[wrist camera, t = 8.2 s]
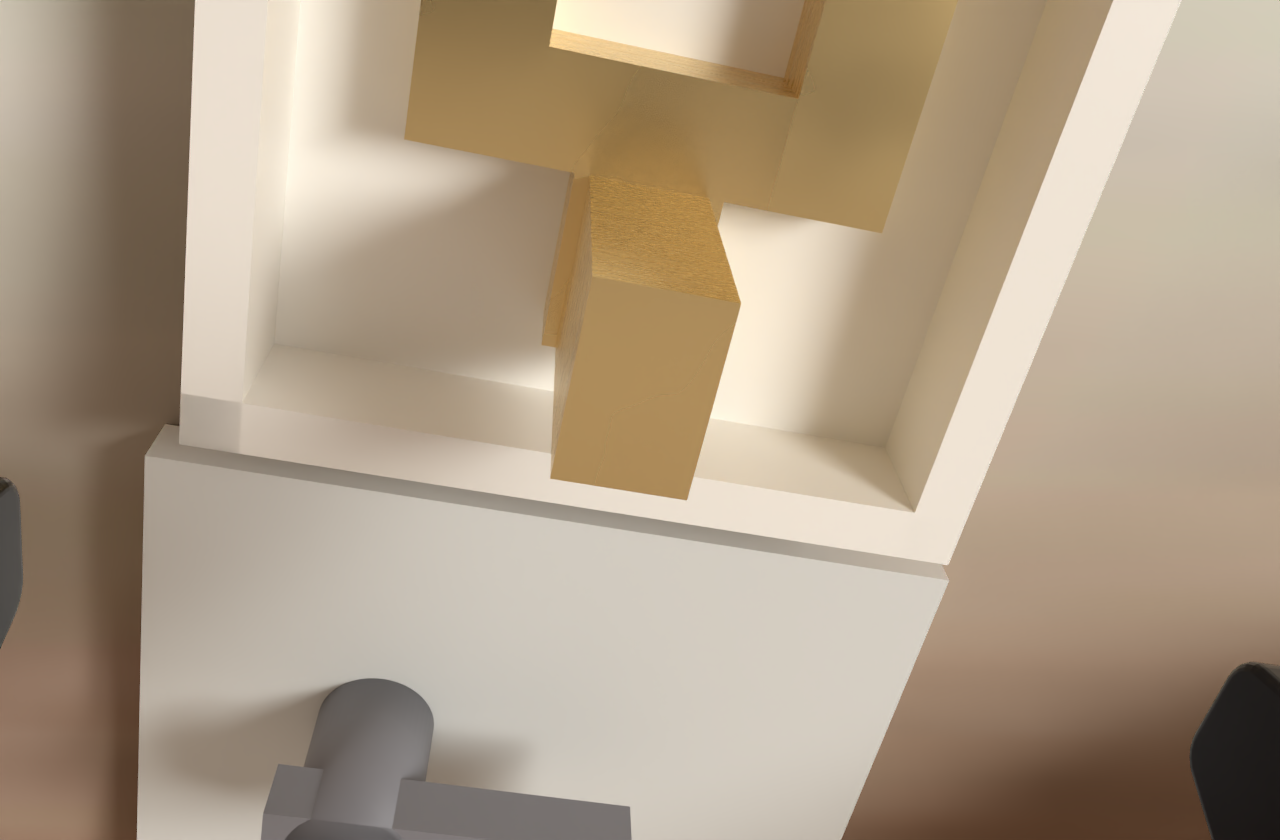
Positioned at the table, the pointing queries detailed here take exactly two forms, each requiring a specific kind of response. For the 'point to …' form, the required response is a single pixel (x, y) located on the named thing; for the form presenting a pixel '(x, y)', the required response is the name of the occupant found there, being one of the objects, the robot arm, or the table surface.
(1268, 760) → the robot arm
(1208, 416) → the table surface
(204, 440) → the tray
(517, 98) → the tan notched block
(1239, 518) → the table surface
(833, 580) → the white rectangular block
